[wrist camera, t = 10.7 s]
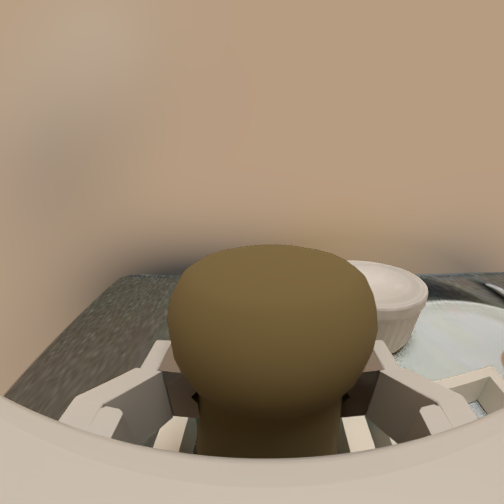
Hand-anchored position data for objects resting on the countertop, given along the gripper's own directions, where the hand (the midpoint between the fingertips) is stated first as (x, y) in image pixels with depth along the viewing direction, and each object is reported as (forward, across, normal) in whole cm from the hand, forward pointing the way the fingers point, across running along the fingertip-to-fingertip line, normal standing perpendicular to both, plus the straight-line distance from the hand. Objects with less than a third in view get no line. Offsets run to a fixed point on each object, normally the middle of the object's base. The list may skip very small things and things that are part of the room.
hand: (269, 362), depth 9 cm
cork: (-1, 0, +8) cm, 8 cm away
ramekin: (+15, -8, +8) cm, 19 cm away
